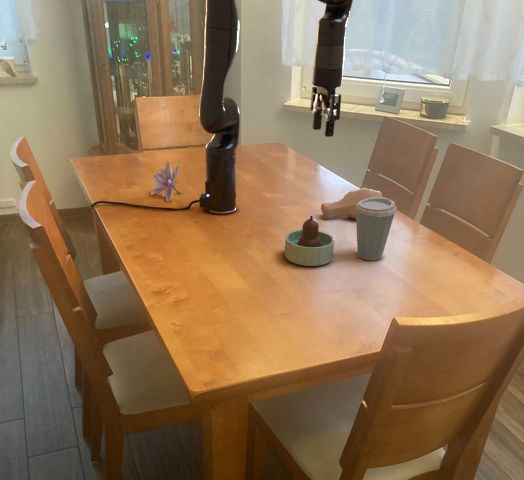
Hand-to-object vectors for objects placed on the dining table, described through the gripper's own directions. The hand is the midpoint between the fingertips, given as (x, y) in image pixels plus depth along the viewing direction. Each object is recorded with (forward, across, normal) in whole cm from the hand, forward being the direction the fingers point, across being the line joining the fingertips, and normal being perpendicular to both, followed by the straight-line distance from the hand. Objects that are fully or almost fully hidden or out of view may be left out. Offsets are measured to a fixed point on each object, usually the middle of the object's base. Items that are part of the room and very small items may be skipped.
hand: (322, 132), depth 146 cm
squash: (+28, -9, +17) cm, 34 cm away
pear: (+28, +17, -9) cm, 34 cm away
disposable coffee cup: (+28, +20, +8) cm, 35 cm away
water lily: (+28, -43, -38) cm, 64 cm away
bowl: (+28, +17, -8) cm, 34 cm away
